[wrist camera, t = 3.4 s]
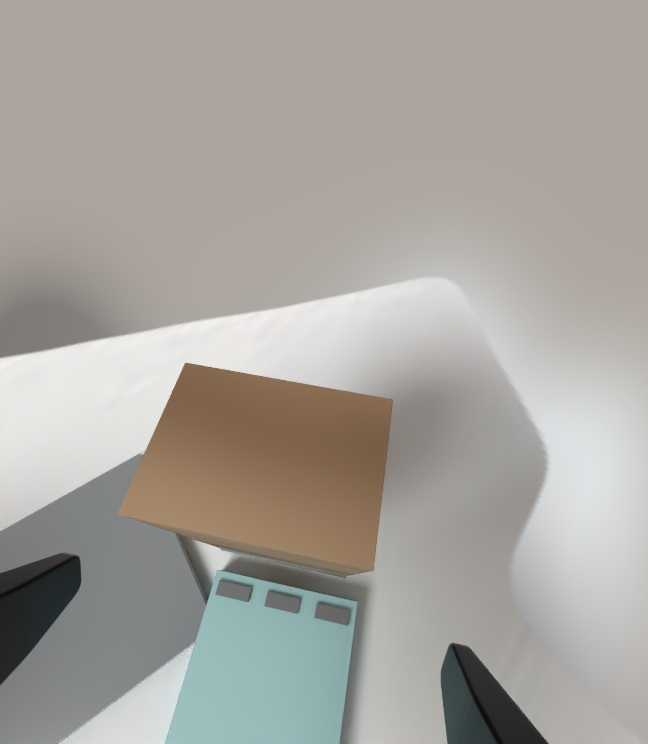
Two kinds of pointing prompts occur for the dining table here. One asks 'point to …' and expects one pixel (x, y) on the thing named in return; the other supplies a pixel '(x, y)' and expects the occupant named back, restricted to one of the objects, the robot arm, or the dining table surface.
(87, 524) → the coaster
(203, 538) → the stub
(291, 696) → the board
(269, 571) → the dining table surface
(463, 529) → the dining table surface
